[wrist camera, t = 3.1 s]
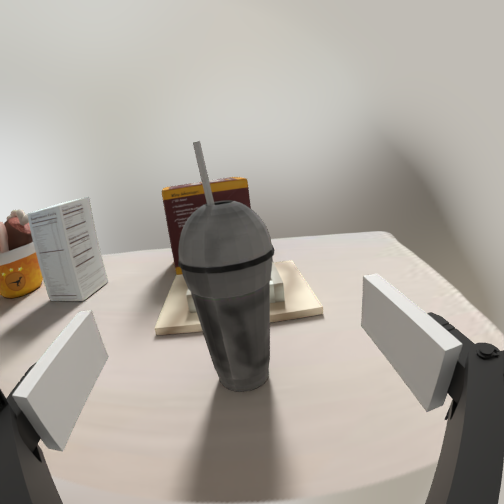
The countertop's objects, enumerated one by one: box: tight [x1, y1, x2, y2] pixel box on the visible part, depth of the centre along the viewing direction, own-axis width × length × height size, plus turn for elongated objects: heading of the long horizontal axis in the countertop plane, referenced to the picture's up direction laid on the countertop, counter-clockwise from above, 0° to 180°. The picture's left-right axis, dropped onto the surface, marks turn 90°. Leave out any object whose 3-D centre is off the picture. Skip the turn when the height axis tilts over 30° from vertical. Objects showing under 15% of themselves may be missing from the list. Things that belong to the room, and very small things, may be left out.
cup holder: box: [155, 260, 323, 335], centre depth 43 cm, size 20×18×4 cm
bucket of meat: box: [0, 210, 43, 298], centre depth 51 cm, size 20×16×20 cm
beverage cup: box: [178, 141, 274, 391], centre depth 23 cm, size 7×7×20 cm
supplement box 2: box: [162, 177, 251, 275], centre depth 58 cm, size 10×15×16 cm
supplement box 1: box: [27, 197, 108, 301], centre depth 48 cm, size 10×9×17 cm
